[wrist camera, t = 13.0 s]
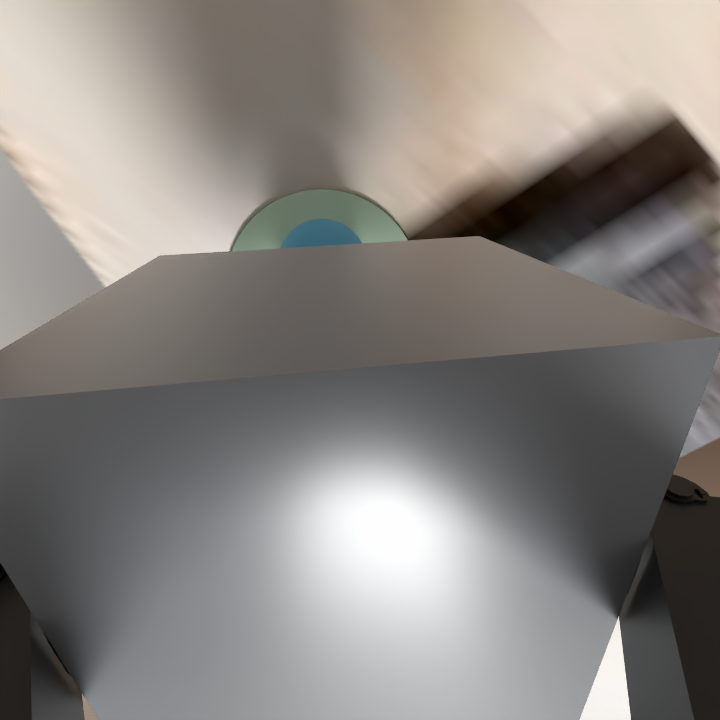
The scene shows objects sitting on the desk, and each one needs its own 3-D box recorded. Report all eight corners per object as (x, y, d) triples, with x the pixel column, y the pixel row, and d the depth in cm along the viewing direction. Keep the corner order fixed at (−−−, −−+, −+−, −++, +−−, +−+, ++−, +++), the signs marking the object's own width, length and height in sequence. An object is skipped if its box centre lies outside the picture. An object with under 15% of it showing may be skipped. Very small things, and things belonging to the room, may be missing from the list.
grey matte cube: (159, 255, 12) (-96, 407, 5) (479, 236, 13) (725, 336, 5) (221, 502, 17) (145, 795, 9) (458, 475, 18) (578, 722, 10)
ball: (284, 331, 23) (281, 262, 25) (370, 325, 24) (360, 257, 26) (271, 278, 19) (269, 200, 21) (377, 272, 19) (365, 195, 21)
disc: (208, 194, 22) (207, 194, 22) (420, 184, 23) (421, 184, 23) (243, 383, 28) (243, 384, 27) (416, 368, 29) (416, 369, 28)
